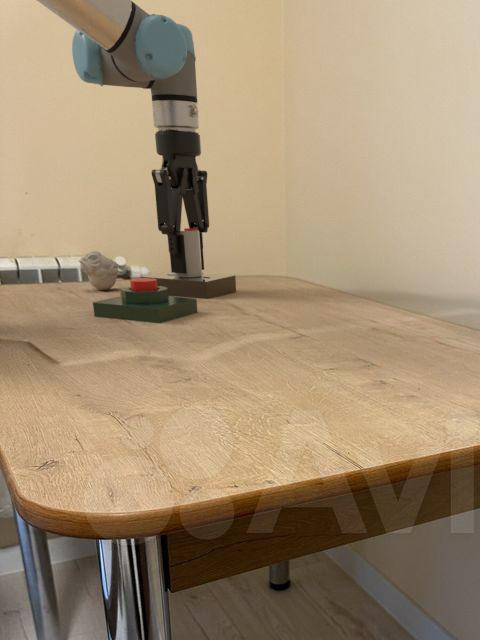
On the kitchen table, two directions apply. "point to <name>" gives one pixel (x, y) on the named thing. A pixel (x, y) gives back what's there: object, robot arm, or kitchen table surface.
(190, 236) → the grey cylinder
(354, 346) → the kitchen table surface
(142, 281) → the button
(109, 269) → the frog figurine
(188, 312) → the block
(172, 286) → the panel
